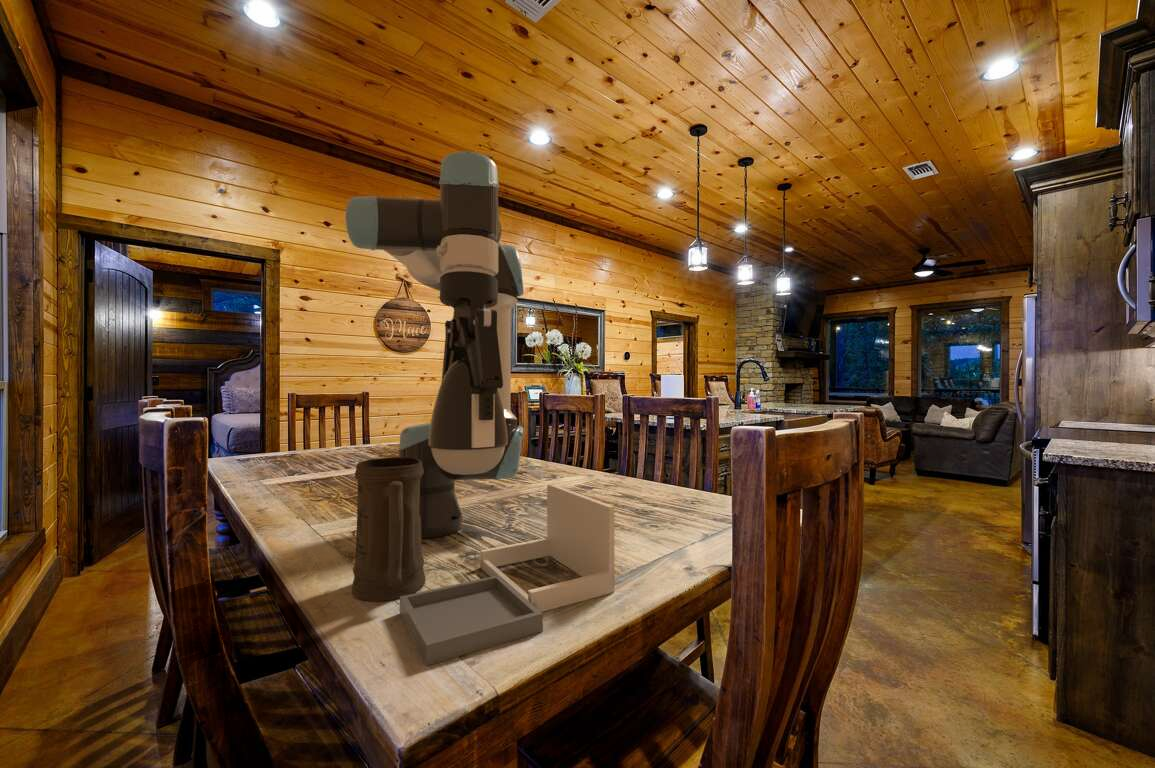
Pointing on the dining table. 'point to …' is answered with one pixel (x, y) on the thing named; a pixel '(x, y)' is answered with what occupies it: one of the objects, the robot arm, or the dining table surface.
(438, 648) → the tray
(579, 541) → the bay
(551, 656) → the dining table surface
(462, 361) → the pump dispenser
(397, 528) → the beer stein
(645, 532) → the dining table surface
